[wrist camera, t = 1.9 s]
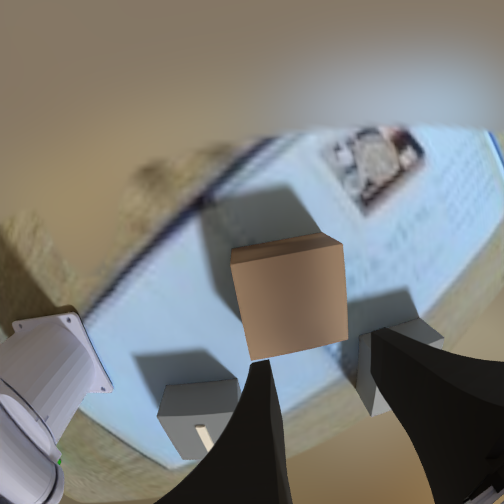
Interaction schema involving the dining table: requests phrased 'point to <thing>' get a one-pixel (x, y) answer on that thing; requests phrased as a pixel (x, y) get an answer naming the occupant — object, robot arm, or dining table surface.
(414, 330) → the slate block
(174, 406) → the slate block
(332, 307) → the walnut block
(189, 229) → the dining table surface
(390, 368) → the robot arm
